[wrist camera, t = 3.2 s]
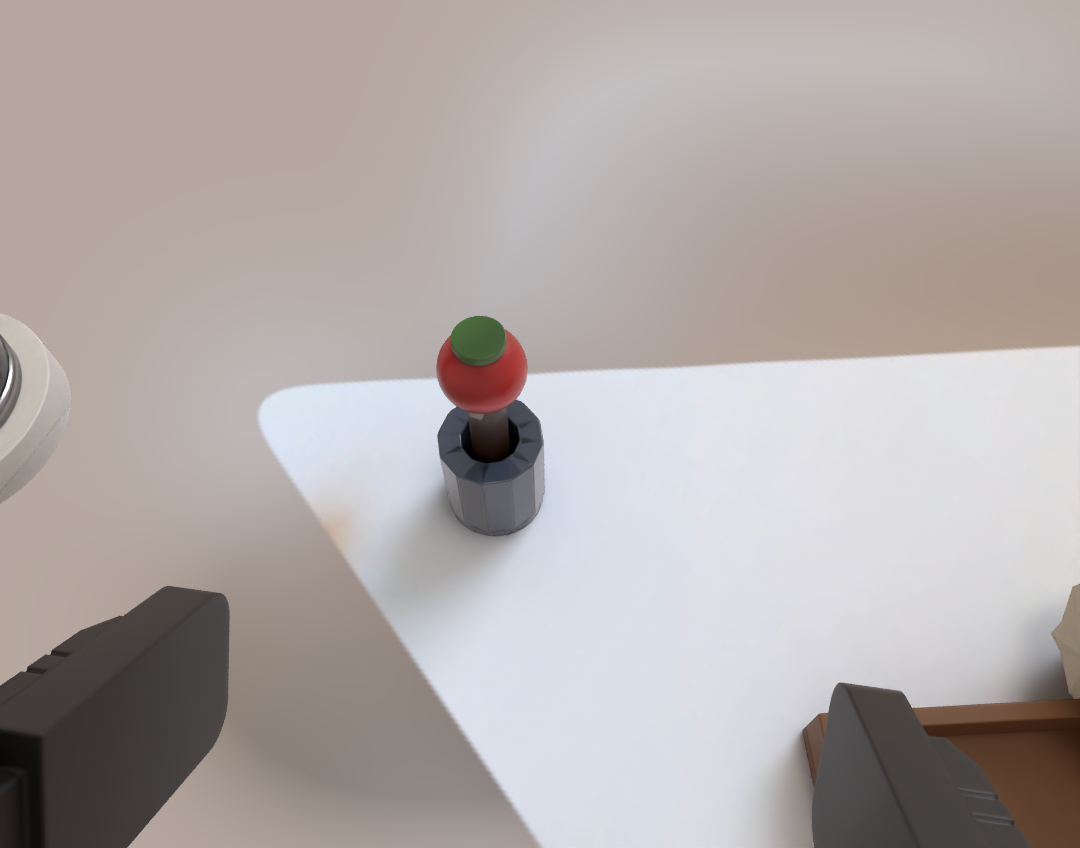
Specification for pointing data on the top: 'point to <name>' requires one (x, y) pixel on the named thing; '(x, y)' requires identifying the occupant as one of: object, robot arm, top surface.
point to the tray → (1010, 759)
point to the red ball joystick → (483, 381)
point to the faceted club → (1070, 642)
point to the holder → (494, 473)
